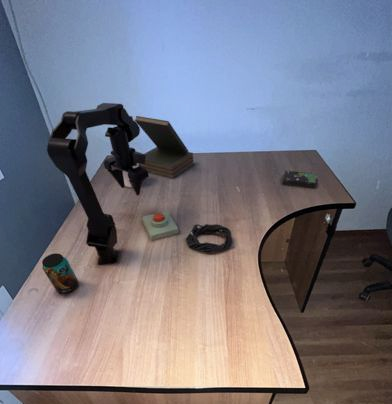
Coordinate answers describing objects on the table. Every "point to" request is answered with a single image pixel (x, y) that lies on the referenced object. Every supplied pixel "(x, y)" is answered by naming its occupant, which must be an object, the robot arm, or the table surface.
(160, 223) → the green stepped base
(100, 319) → the table surface
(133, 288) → the table surface
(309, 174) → the disk drive
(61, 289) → the beverage can
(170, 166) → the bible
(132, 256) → the table surface
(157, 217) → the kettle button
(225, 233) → the cable
